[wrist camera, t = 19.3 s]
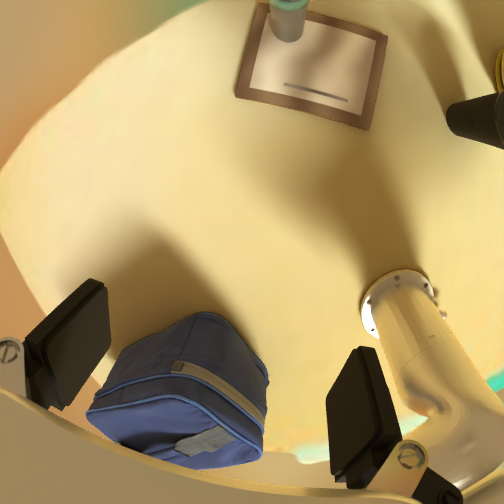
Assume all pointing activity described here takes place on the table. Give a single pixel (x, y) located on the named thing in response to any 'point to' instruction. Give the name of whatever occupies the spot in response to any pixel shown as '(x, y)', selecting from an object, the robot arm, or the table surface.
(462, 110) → the drinking cup
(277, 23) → the translucent bottle
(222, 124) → the table surface
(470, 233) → the table surface
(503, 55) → the flowerpot
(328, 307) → the table surface
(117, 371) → the lunch bag
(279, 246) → the table surface
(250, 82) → the board
